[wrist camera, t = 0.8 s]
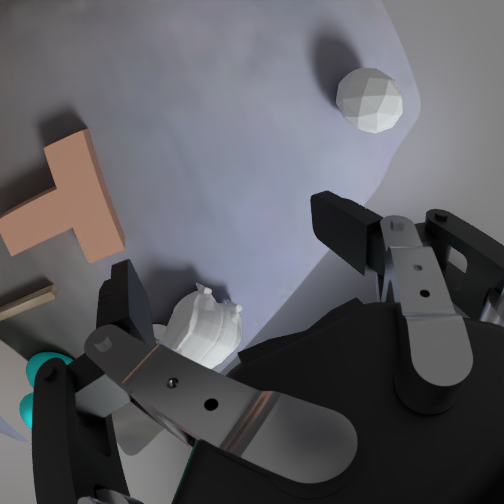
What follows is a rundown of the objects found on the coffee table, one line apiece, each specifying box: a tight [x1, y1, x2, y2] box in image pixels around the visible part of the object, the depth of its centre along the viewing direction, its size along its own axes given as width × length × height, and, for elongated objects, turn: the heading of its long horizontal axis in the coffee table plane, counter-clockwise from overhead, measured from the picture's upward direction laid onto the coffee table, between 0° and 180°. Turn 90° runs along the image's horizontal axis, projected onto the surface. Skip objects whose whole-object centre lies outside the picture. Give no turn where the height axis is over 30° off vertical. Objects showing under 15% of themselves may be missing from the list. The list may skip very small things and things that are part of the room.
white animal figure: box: [152, 282, 243, 369], centre depth 33 cm, size 8×8×15 cm
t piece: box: [0, 129, 125, 263], centre depth 22 cm, size 12×12×3 cm
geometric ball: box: [336, 68, 402, 133], centre depth 27 cm, size 8×8×8 cm
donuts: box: [20, 352, 74, 429], centre depth 28 cm, size 10×10×10 cm
